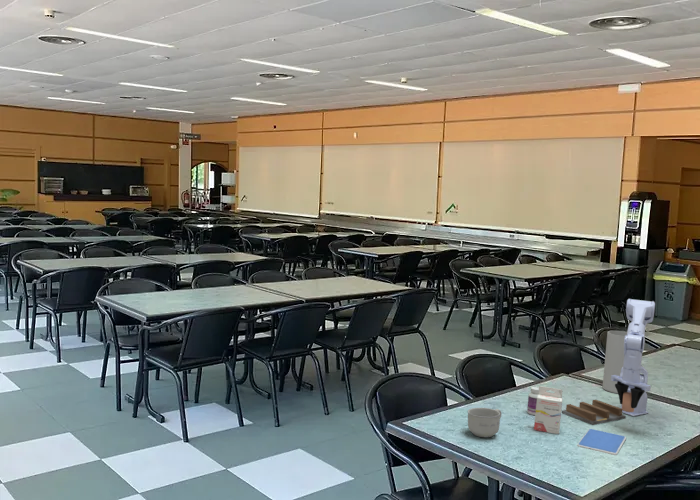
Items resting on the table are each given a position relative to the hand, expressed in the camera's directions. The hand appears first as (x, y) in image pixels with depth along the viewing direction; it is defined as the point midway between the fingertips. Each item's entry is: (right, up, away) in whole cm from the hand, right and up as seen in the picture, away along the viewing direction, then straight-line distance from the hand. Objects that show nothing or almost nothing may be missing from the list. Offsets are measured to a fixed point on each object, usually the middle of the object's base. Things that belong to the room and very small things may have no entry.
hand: (628, 405), depth 238 cm
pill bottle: (-30, -6, +14) cm, 33 cm away
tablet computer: (-14, -10, -13) cm, 22 cm away
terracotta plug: (0, -2, 0) cm, 2 cm away
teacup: (-53, -7, -11) cm, 55 cm away
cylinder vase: (+17, -6, +52) cm, 55 cm away
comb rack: (-7, -7, +15) cm, 18 cm away
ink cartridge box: (-30, -8, -4) cm, 32 cm away
